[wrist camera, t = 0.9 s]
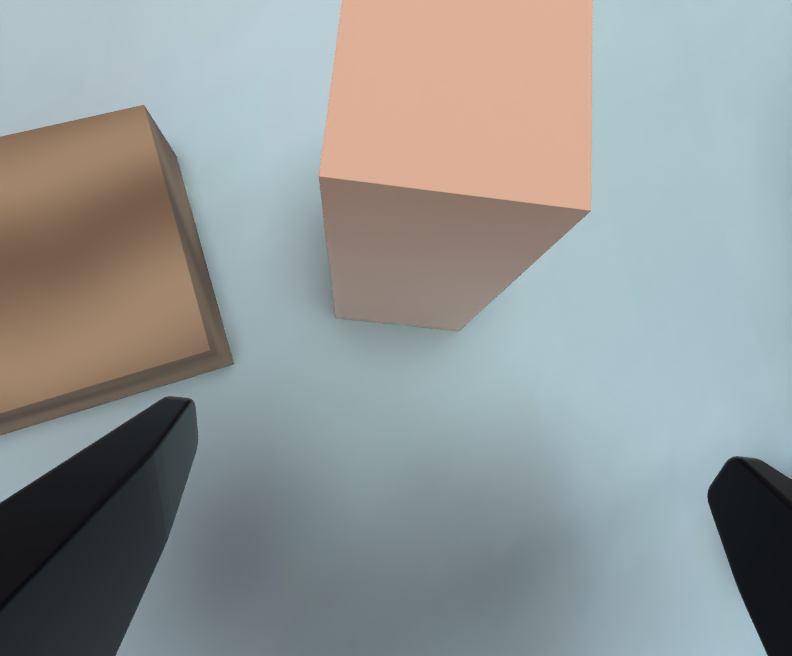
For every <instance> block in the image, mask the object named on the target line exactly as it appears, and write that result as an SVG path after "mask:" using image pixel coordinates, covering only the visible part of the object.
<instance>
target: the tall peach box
mask: <svg viewBox="0 0 792 656" xmlns="http://www.w3.org/2000/svg"><path fill="white" fill-rule="evenodd" d="M592 10H593V0H342V5H341V13H340V20H339V28H338V35H337V43H336V51H335V58H334V66H333V73H332V81H331V88H330V96H329V104H328V111H327V119H326V126H325V134H324V142H323V149H322V157H321V164H320V172H319V181H320V190H321V198H322V207H323V215H324V224H325V232H326V241H327V249H328V258H329V266H330V275H331V283H332V292H333V300H334V309H335V317H336V318H341V319H351V320H360V321H369V322H379V323H388V324H398V325H407V326H416V327H426V328H435V329H445V330H454V331H460V330H461V329H462V328H463V327H464V326H465V325H466V324H467V323H468V322H469V321H471V320H472V319H473V318H474V317H475V316H476V315H477V314H478V313H479V312H480V311H482V310H483V309H484V308H485V307H486V306H487V305H488V304H489V303H490V302H491V301H492V300H494V299H495V298H496V297H497V296H498V295H499V294H500V293H501V292H502V291H503V290H505V289H506V288H507V287H508V286H509V285H510V284H511V283H512V282H513V281H514V280H516V279H517V278H518V277H519V276H520V275H521V274H522V273H523V272H524V271H525V270H527V269H528V268H529V267H530V266H531V265H532V264H533V263H534V262H535V261H536V260H537V259H539V258H540V257H541V256H542V255H543V254H544V253H545V252H546V251H547V250H548V249H550V248H551V247H552V246H553V245H554V244H555V243H556V242H557V241H558V240H559V239H561V238H562V237H563V236H564V235H565V234H566V233H567V232H568V231H569V230H570V229H571V228H573V227H574V226H575V225H576V224H577V223H578V222H579V221H580V220H581V219H582V218H584V217H585V216H586V215H587V214H588V213H589V212H590V211H591V150H592Z"/></svg>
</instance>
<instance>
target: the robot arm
mask: <svg viewBox="0 0 792 656" xmlns="http://www.w3.org/2000/svg"><path fill="white" fill-rule="evenodd" d="M197 446H198V428H197V418H196V407H195V403H194V401H193V400H192V399H190V398H182V397H172V396H169V397H165V398H163V399H161V400H159V401H158V402H156V403H155V404H153V405H152V406H150V407H149V408H147V409H145V410H144V411H142V412H141V413H139V414H138V415H136V416H135V417H133V418H132V419H130V420H128V421H127V422H125V423H124V424H122V425H121V426H119V427H118V428H116V429H114V430H113V431H111V432H110V433H108V434H107V435H105V436H104V437H102V438H100V439H99V440H97V441H96V442H94V443H93V444H91V445H90V446H88V447H86V448H85V449H83V450H82V451H80V452H79V453H77V454H76V455H74V456H72V457H71V458H69V459H68V460H66V461H65V462H63V463H62V464H60V465H58V466H57V467H55V468H54V469H52V470H51V471H49V472H48V473H46V474H45V475H43V476H41V477H40V478H38V479H37V480H35V481H34V482H32V483H31V484H29V485H27V486H26V487H24V488H23V489H21V490H20V491H18V492H17V493H15V494H13V495H12V496H10V497H9V498H7V499H6V500H4V501H3V502H1V503H0V656H116V654H117V651H118V649H119V647H120V645H121V642H122V640H123V638H124V636H125V634H126V631H127V629H128V627H129V625H130V623H131V620H132V618H133V616H134V614H135V611H136V609H137V607H138V605H139V603H140V600H141V598H142V596H143V594H144V592H145V589H146V587H147V585H148V583H149V580H150V578H151V576H152V574H153V572H154V569H155V567H156V565H157V563H158V561H159V558H160V556H161V554H162V551H163V549H164V547H165V544H166V542H167V539H168V537H169V534H170V531H171V528H172V525H173V522H174V519H175V516H176V513H177V509H178V506H179V503H180V500H181V497H182V494H183V491H184V488H185V485H186V482H187V478H188V475H189V472H190V469H191V466H192V463H193V460H194V457H195V454H196V450H197ZM707 497H708V503H709V506H710V509H711V512H712V515H713V518H714V521H715V524H716V527H717V529H718V532H719V535H720V538H721V541H722V544H723V547H724V550H725V553H726V556H727V559H728V562H729V564H730V567H731V570H732V573H733V576H734V579H735V581H736V584H737V587H738V590H739V592H740V594H741V597H742V599H743V601H744V604H745V606H746V608H747V611H748V613H749V615H750V617H751V619H752V622H753V624H754V626H755V628H756V631H757V633H758V635H759V637H760V640H761V642H762V644H763V646H764V648H765V651H766V653H767V655H768V656H792V480H791V479H790V478H788V477H786V476H785V475H783V474H782V473H780V472H779V471H777V470H776V469H774V468H773V467H771V466H769V465H768V464H766V463H765V462H763V461H761V460H759V459H756V458H749V457H739V456H735V457H732V458H730V459H728V460H727V462H726V463H725V464H724V466H723V467H722V469H721V470H720V472H719V473H718V475H717V476H716V478H715V479H714V481H713V482H712V484H711V485H710V487H709V489H708V496H707Z"/></svg>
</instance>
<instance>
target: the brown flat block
mask: <svg viewBox="0 0 792 656" xmlns="http://www.w3.org/2000/svg"><path fill="white" fill-rule="evenodd" d="M232 364H234V363H233V359H232V356H231V352H230V348H229V345H228V341H227V338H226V334H225V330H224V327H223V323H222V320H221V316H220V312H219V309H218V305H217V302H216V298H215V294H214V291H213V287H212V283H211V280H210V276H209V273H208V269H207V265H206V262H205V258H204V255H203V251H202V247H201V244H200V240H199V237H198V233H197V229H196V226H195V222H194V218H193V215H192V211H191V208H190V204H189V200H188V197H187V193H186V190H185V186H184V182H183V179H182V175H181V172H180V168H179V164H178V161H177V157H176V155H175V153H174V152H173V150H172V149H171V147H170V145H169V144H168V142H167V141H166V139H165V137H164V136H163V134H162V133H161V131H160V129H159V128H158V126H157V125H156V123H155V121H154V120H153V118H152V117H151V115H150V114H149V112H148V110H147V109H146V107H145V106H144V105H142V106H137V107H133V108H128V109H124V110H119V111H115V112H110V113H106V114H101V115H97V116H92V117H88V118H83V119H79V120H74V121H70V122H65V123H61V124H56V125H52V126H47V127H43V128H38V129H34V130H29V131H25V132H20V133H16V134H11V135H7V136H2V137H0V435H3V434H6V433H9V432H13V431H16V430H19V429H23V428H26V427H29V426H32V425H36V424H39V423H42V422H46V421H49V420H52V419H55V418H59V417H62V416H65V415H68V414H72V413H75V412H78V411H82V410H85V409H88V408H91V407H95V406H98V405H101V404H105V403H108V402H111V401H114V400H118V399H121V398H124V397H127V396H131V395H134V394H137V393H141V392H144V391H147V390H150V389H154V388H157V387H160V386H163V385H167V384H170V383H173V382H177V381H180V380H183V379H186V378H190V377H193V376H196V375H200V374H203V373H206V372H209V371H213V370H216V369H219V368H222V367H226V366H229V365H232Z"/></svg>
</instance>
